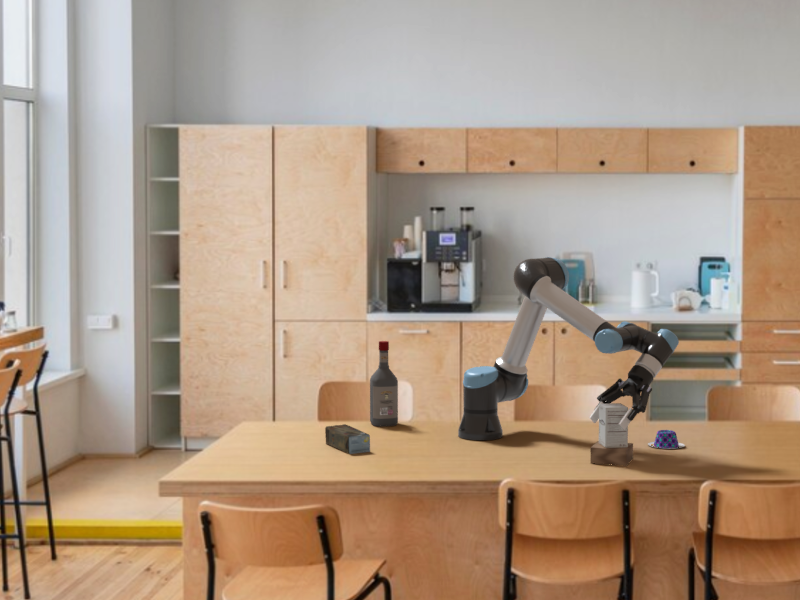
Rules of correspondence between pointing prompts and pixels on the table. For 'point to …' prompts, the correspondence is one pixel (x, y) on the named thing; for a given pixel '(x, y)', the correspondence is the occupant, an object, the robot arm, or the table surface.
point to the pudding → (666, 440)
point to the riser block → (611, 454)
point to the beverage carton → (347, 439)
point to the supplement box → (612, 425)
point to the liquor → (383, 392)
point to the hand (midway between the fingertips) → (606, 423)
